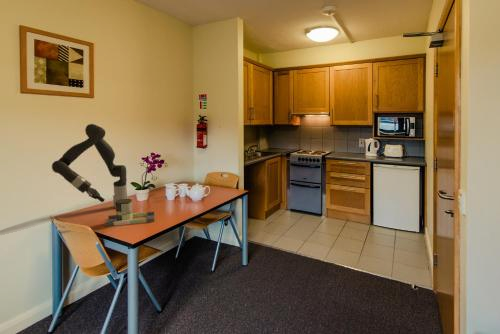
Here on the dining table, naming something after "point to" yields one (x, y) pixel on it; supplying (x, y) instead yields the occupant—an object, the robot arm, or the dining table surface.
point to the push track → (113, 221)
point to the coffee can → (124, 209)
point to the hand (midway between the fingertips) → (103, 201)
